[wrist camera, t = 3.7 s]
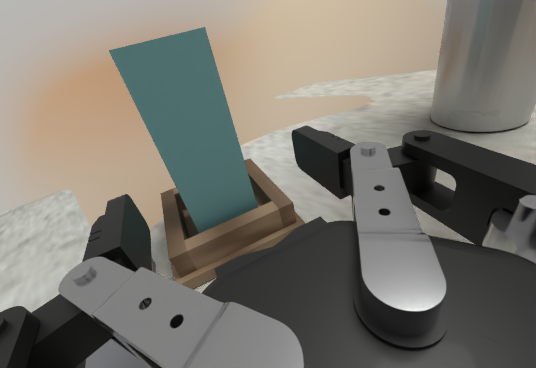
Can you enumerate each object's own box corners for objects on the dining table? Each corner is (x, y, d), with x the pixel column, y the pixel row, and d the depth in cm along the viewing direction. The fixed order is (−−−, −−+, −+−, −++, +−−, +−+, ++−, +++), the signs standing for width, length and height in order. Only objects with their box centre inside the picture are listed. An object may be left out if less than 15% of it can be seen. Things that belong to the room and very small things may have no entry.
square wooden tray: (258, 178, 29) (252, 155, 27) (306, 232, 20) (302, 203, 19) (168, 216, 26) (155, 193, 25) (180, 295, 18) (162, 268, 16)
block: (242, 191, 25) (190, 31, 18) (261, 218, 21) (204, 27, 14) (194, 211, 24) (116, 49, 17) (204, 244, 20) (108, 50, 13)
